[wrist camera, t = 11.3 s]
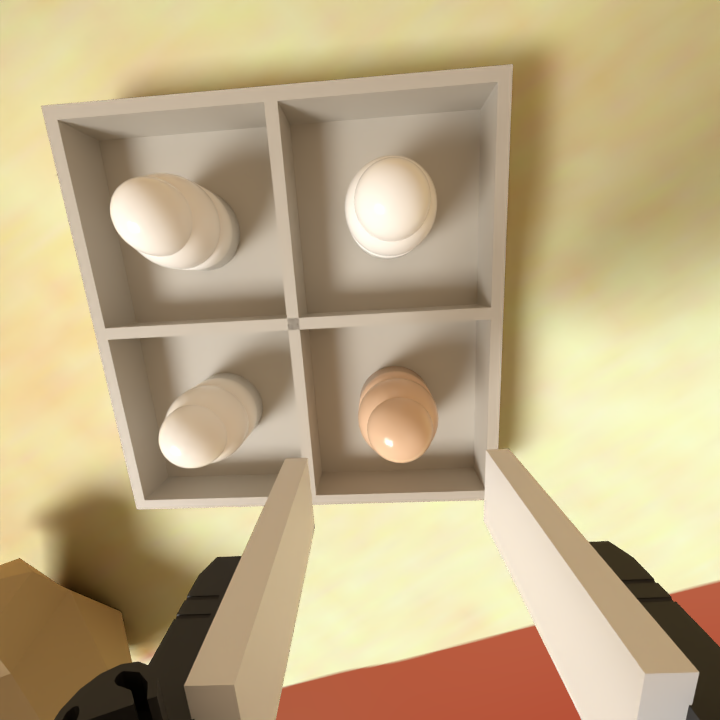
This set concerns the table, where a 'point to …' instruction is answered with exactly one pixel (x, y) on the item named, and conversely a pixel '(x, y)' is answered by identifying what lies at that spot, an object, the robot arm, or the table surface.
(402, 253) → the white egg
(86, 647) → the low-poly potato
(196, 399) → the white egg
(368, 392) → the brown egg
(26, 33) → the table surface
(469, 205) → the carton
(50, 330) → the table surface
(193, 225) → the white egg
